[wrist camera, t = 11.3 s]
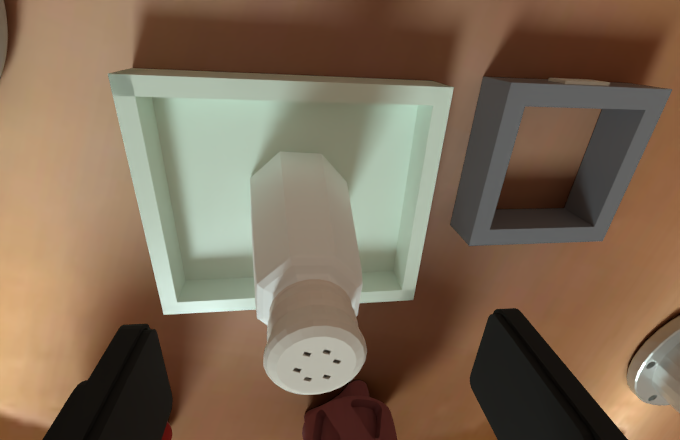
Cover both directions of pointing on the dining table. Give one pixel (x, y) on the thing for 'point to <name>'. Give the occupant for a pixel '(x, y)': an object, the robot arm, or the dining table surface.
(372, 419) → the mechanical component
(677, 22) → the dining table surface
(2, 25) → the cylinder vase
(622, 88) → the holder
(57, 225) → the dining table surface
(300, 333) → the pepper shaker
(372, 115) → the tray
